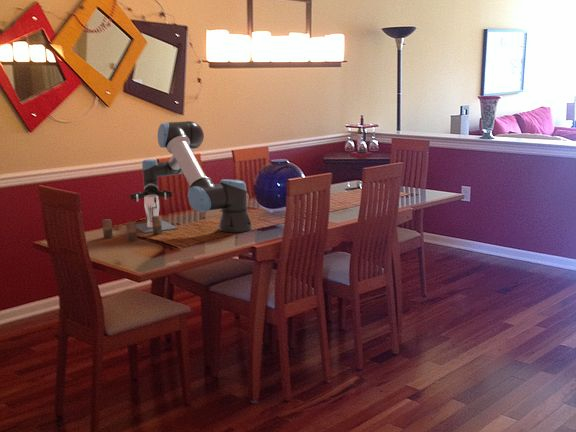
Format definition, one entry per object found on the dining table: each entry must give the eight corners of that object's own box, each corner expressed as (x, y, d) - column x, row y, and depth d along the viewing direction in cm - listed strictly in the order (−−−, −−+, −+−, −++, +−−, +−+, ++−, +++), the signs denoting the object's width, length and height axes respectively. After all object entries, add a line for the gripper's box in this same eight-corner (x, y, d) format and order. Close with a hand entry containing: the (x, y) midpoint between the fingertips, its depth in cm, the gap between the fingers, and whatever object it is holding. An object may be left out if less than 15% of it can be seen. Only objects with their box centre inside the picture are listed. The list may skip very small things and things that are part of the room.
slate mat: (178, 228, 333) (177, 227, 333) (145, 233, 326) (145, 232, 325) (163, 221, 350) (163, 220, 350) (132, 226, 343) (132, 224, 343)
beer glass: (143, 228, 334) (140, 196, 332) (150, 224, 341) (148, 194, 338) (155, 228, 332) (153, 197, 329) (163, 225, 338) (161, 194, 336)
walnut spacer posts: (167, 236, 319) (165, 218, 317) (112, 243, 307) (110, 226, 305) (155, 229, 332) (154, 213, 331) (102, 237, 321) (101, 219, 319)
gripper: (176, 197, 367) (177, 203, 346) (127, 200, 363) (125, 207, 342) (175, 183, 366) (176, 188, 345) (126, 186, 361) (124, 192, 341)
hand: (151, 198), depth 344 cm, fingers open, 13 cm apart
